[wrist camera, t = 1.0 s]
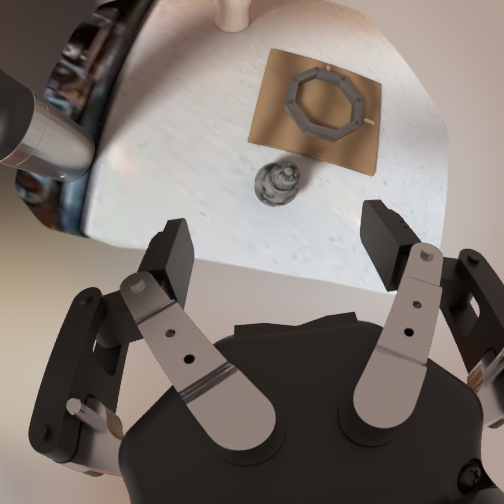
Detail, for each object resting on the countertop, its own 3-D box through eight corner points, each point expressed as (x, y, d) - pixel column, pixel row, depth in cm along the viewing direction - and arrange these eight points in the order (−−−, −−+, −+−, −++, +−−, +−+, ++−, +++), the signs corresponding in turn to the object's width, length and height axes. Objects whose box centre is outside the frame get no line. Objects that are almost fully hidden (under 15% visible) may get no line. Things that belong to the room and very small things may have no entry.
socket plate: (247, 142, 39) (249, 135, 36) (270, 51, 38) (272, 41, 35) (371, 176, 41) (380, 172, 38) (378, 86, 40) (385, 79, 37)
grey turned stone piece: (275, 216, 40) (293, 209, 28) (244, 189, 39) (250, 170, 27) (301, 187, 40) (328, 169, 28) (270, 160, 39) (287, 131, 27)
